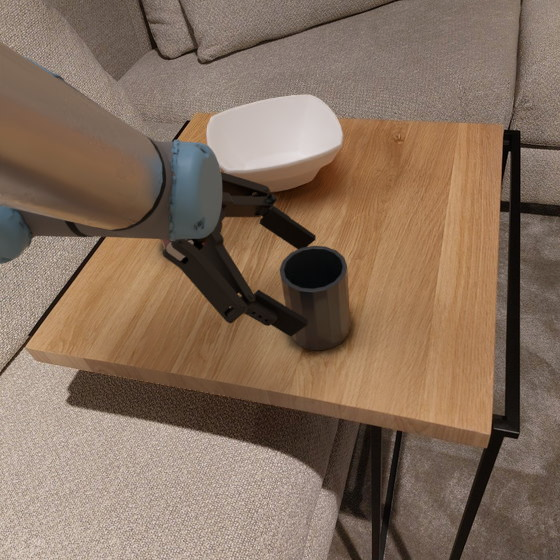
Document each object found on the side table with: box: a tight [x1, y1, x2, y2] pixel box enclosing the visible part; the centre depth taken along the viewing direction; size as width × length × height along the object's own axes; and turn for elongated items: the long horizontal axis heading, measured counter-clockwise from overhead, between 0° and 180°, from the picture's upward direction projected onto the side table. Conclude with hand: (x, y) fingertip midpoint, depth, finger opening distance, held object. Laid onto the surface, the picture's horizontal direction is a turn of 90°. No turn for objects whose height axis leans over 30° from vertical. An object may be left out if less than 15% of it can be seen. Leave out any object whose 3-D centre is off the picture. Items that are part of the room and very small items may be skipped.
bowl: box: [205, 94, 345, 193], centre depth 93 cm, size 21×21×9 cm
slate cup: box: [279, 245, 351, 352], centre depth 68 cm, size 7×7×10 cm
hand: (304, 283), depth 67 cm, fingers open, 13 cm apart
